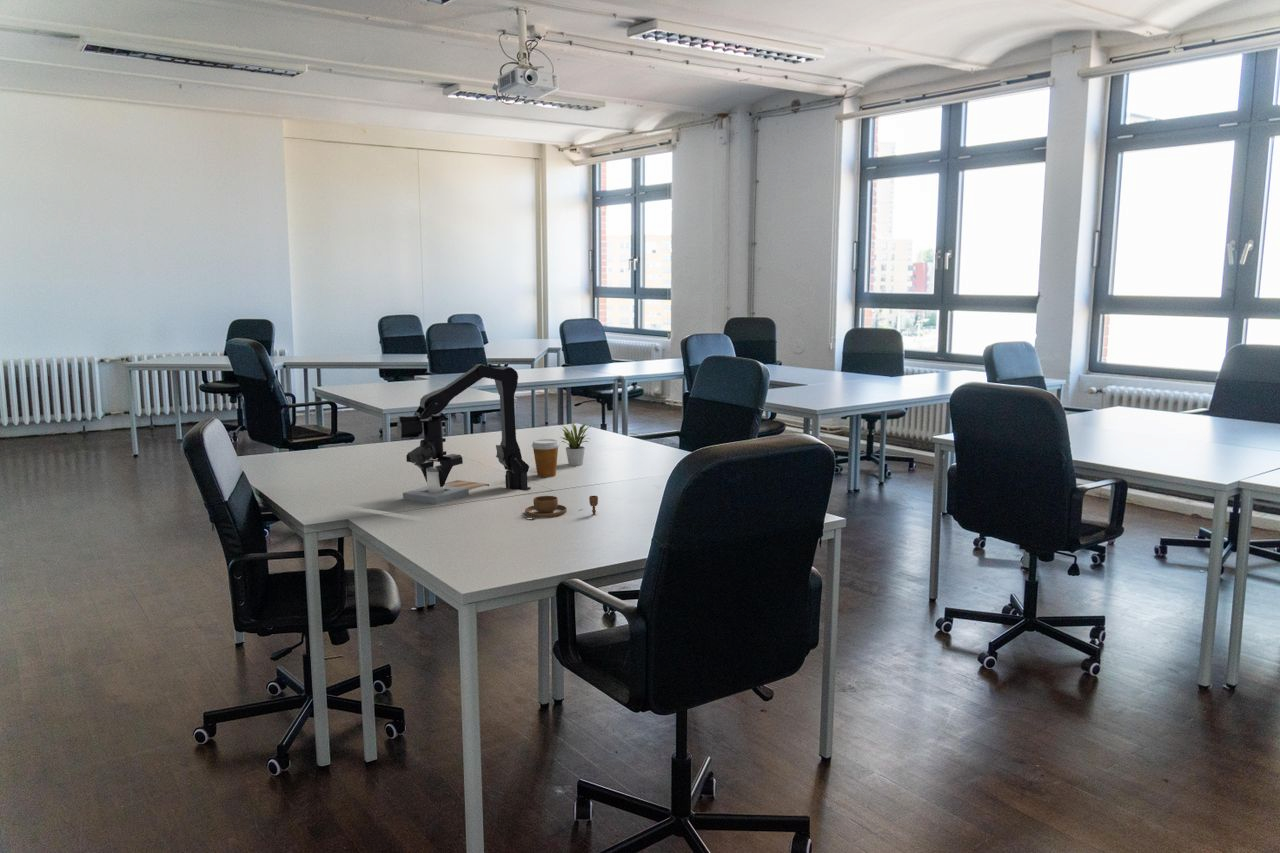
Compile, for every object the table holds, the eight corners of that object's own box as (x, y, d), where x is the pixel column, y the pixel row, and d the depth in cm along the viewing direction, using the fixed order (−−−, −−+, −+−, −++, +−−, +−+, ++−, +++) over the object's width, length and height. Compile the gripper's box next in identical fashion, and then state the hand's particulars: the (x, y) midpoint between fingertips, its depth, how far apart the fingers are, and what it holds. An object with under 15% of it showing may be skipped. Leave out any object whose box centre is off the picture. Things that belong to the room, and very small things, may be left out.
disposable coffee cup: (529, 474, 317) (527, 440, 315) (555, 471, 321) (553, 438, 319) (537, 479, 308) (536, 444, 307) (564, 476, 312) (563, 442, 311)
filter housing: (468, 498, 282) (468, 488, 282) (436, 507, 270) (436, 497, 270) (436, 493, 289) (435, 484, 289) (403, 502, 278) (402, 492, 277)
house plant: (601, 460, 340) (600, 417, 338) (595, 467, 326) (594, 422, 324) (563, 460, 342) (562, 417, 339) (556, 467, 328) (555, 422, 325)
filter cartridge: (448, 496, 281) (446, 467, 279) (436, 499, 276) (434, 470, 275) (436, 494, 283) (434, 466, 282) (424, 497, 279) (422, 469, 278)
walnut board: (489, 487, 297) (489, 484, 297) (459, 495, 286) (459, 492, 285) (457, 482, 305) (457, 480, 304) (427, 491, 293) (427, 488, 293)
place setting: (555, 505, 272) (554, 486, 271) (602, 516, 259) (601, 496, 258) (509, 517, 260) (508, 497, 259) (556, 528, 246) (555, 507, 245)
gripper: (391, 437, 275) (394, 487, 277) (436, 442, 265) (438, 494, 268) (418, 432, 284) (421, 481, 287) (462, 436, 275) (465, 487, 277)
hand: (435, 485), depth 279 cm, fingers closed on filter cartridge, 5 cm apart
